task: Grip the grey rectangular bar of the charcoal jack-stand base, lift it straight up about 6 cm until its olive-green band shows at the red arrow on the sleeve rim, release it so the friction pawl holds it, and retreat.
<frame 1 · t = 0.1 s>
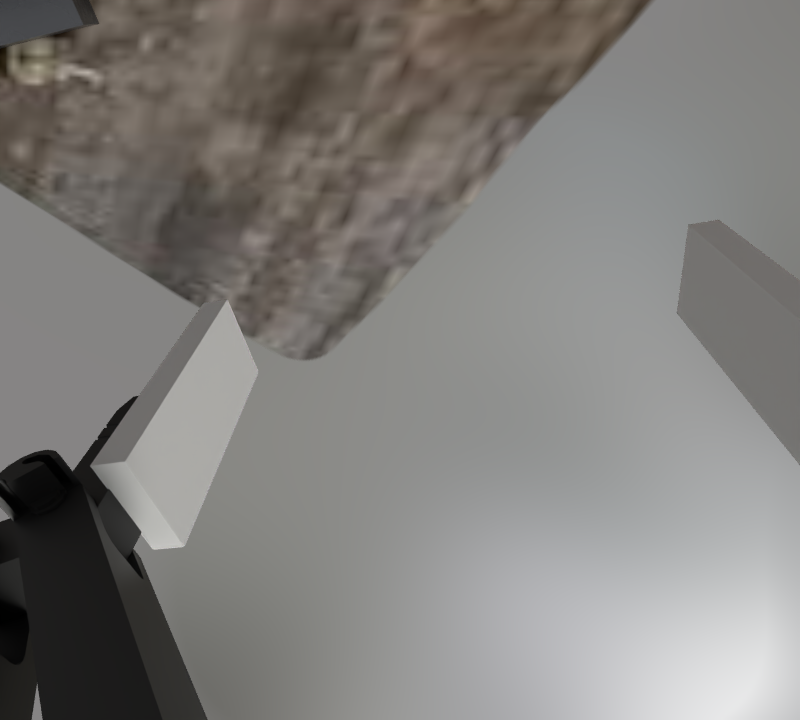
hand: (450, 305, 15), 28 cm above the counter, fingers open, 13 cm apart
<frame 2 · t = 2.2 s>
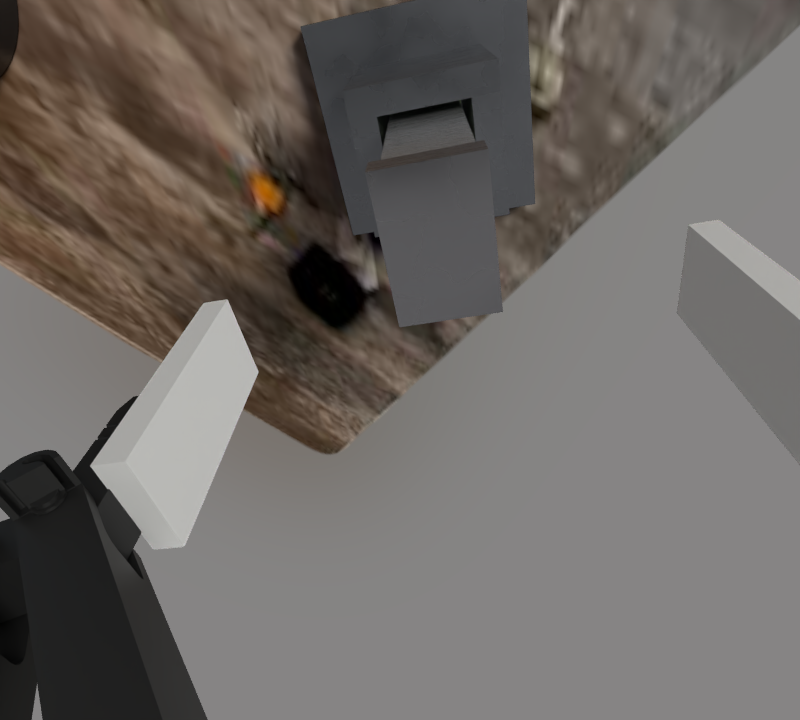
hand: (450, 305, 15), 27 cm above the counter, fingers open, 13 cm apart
grey rectangular bar: (431, 165, 27), point 13 cm above the counter, slide at 0.0 cm
stand base: (427, 117, 37), on the counter
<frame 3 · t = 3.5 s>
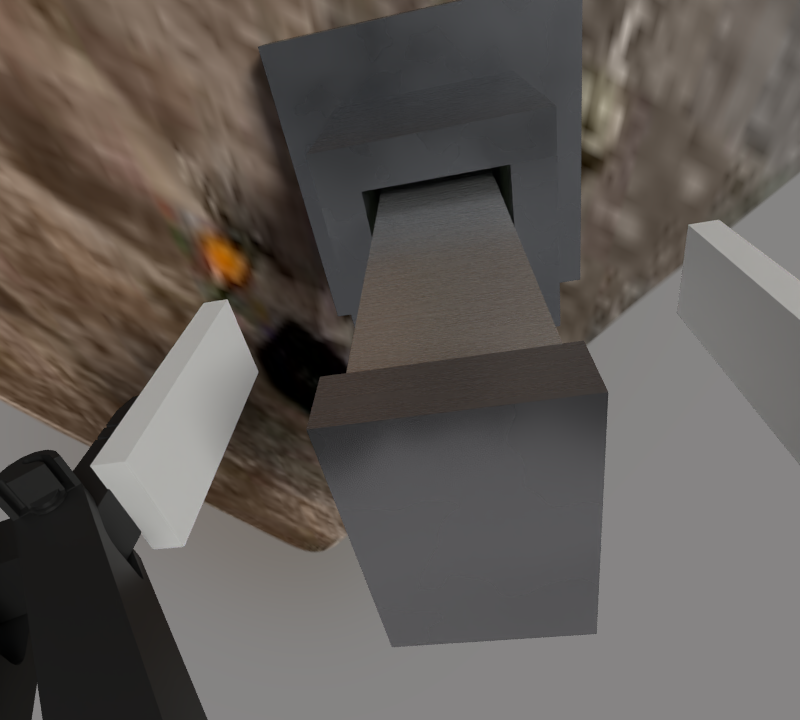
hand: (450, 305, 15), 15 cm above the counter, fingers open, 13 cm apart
grey rectangular bar: (447, 269, 17), point 13 cm above the counter, slide at 0.0 cm
stand base: (436, 165, 28), on the counter
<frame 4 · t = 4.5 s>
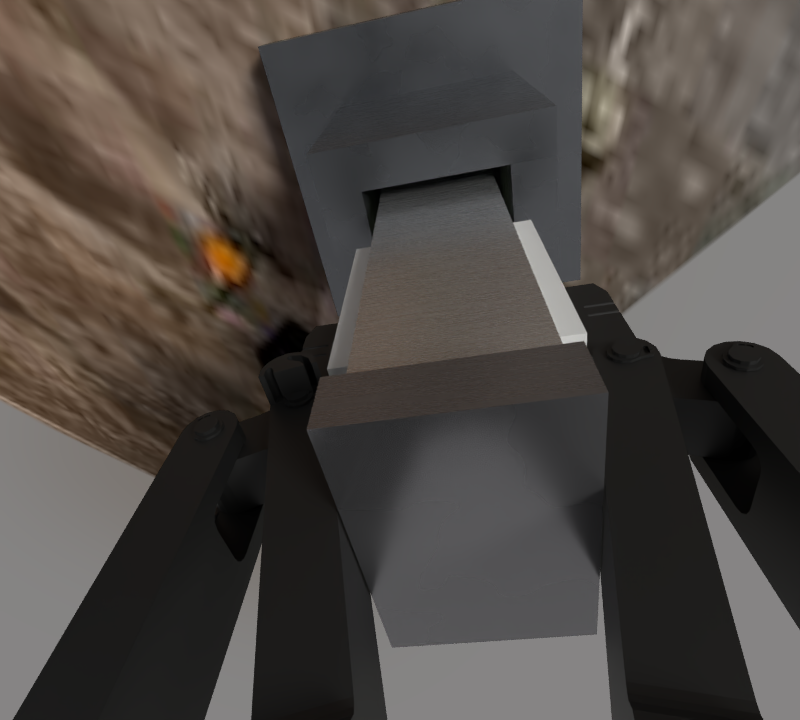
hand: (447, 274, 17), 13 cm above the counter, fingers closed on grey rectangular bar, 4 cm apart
grey rectangular bar: (447, 269, 17), point 13 cm above the counter, slide at 0.0 cm, touching gripper
stand base: (436, 165, 28), on the counter
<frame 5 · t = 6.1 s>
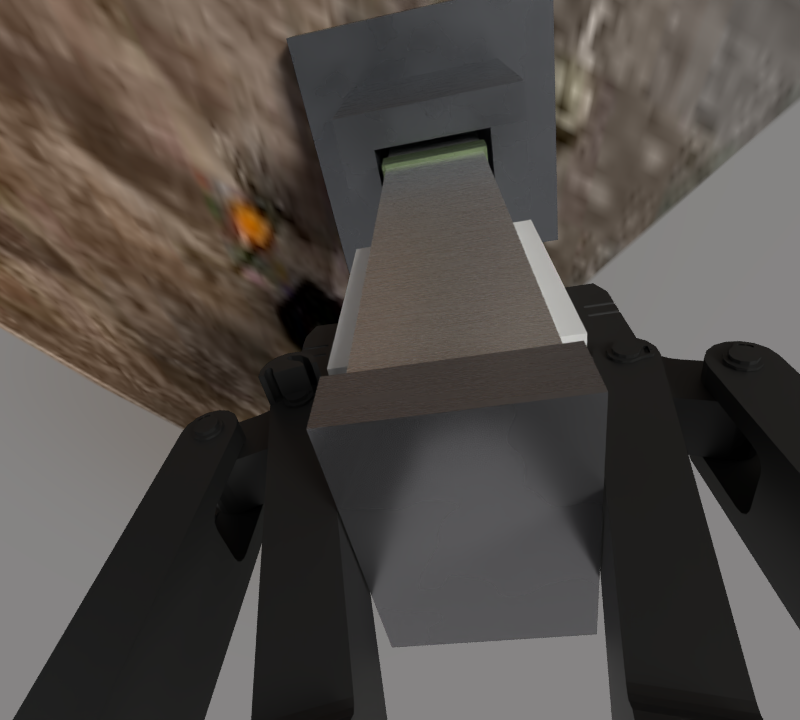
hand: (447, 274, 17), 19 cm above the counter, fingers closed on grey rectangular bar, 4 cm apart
grey rectangular bar: (447, 270, 17), point 19 cm above the counter, slide at 5.9 cm, touching gripper
stand base: (434, 141, 32), on the counter
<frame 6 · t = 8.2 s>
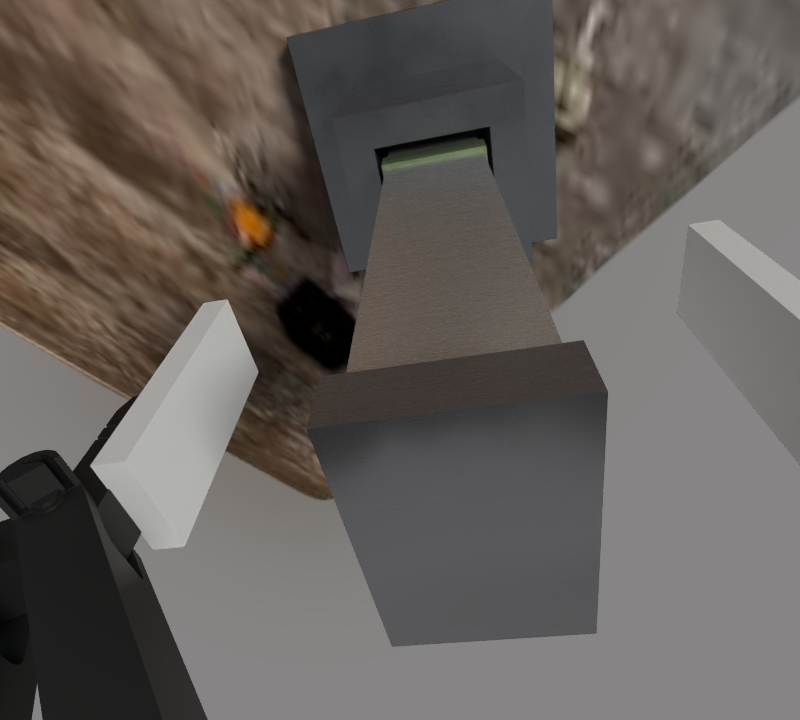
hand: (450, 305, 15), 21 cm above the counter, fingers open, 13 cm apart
grey rectangular bar: (447, 269, 17), point 19 cm above the counter, slide at 6.0 cm
stand base: (433, 140, 33), on the counter
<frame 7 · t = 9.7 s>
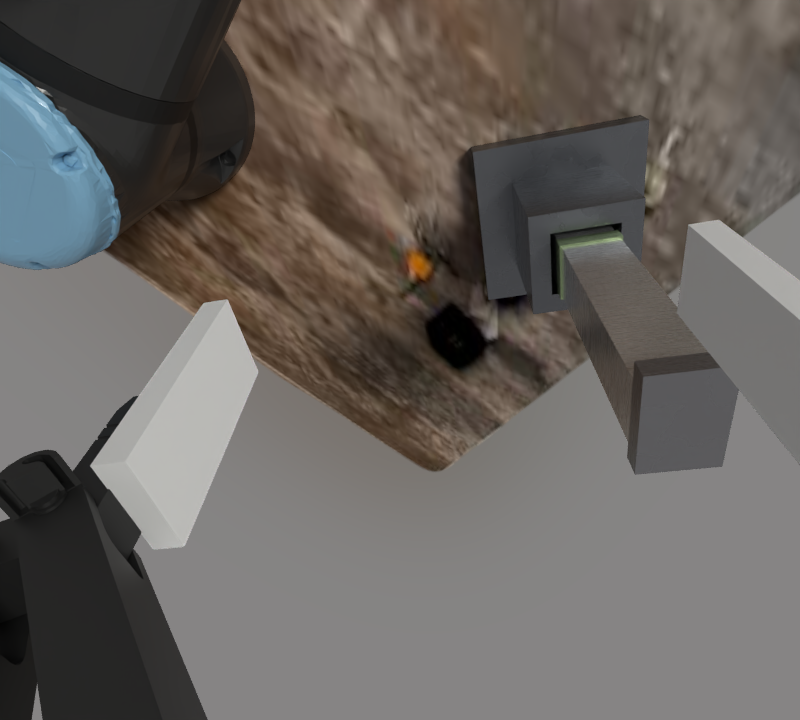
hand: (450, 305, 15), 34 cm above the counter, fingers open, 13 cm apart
grey rectangular bar: (616, 310, 32), point 19 cm above the counter, slide at 6.0 cm
stand base: (555, 211, 48), on the counter
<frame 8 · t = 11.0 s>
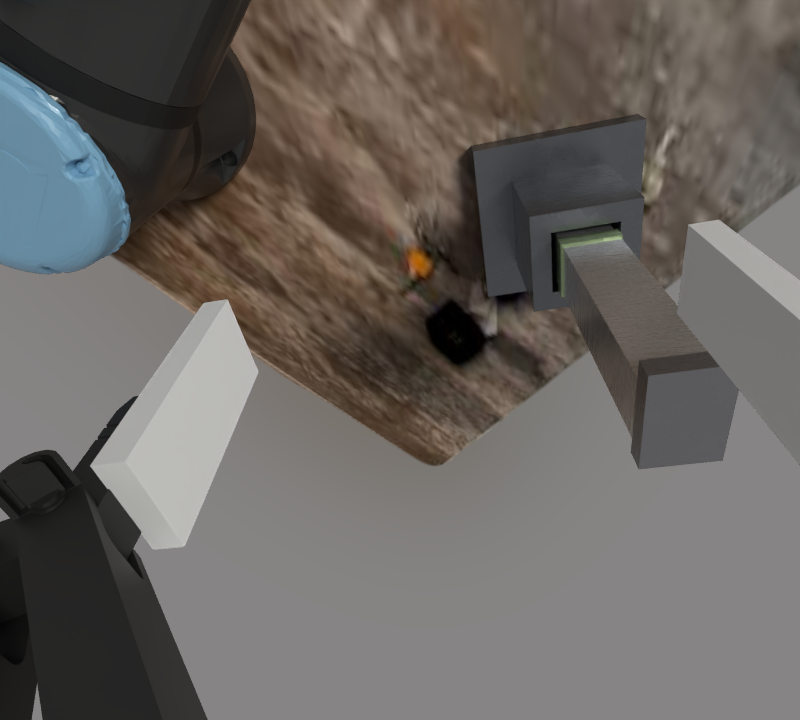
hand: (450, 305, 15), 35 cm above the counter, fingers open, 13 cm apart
grey rectangular bar: (617, 309, 33), point 19 cm above the counter, slide at 6.0 cm
stand base: (554, 209, 48), on the counter
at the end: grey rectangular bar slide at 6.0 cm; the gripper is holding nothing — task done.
